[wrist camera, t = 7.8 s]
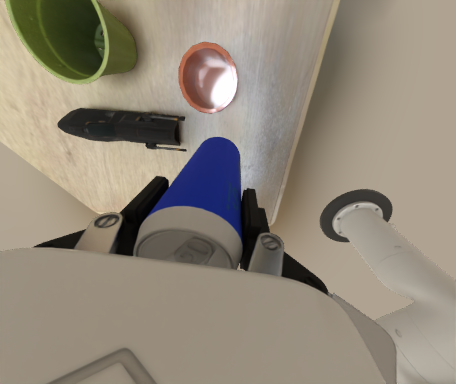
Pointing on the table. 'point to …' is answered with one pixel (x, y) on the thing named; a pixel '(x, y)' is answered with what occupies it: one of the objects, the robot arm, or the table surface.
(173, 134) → the black toy vehicle
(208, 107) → the holder
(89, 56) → the plant pot
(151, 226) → the beverage can
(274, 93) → the table surface
